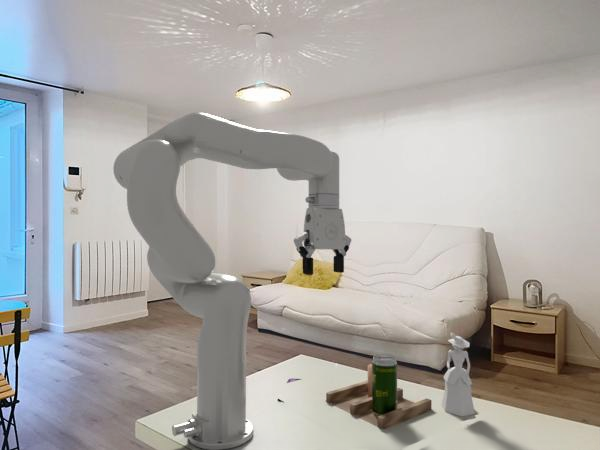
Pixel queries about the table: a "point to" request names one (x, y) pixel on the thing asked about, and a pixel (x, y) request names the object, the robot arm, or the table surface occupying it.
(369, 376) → the peach rounded cylinder
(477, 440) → the table surface
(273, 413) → the table surface
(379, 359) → the beer can
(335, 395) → the rack
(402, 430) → the table surface
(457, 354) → the figurine
